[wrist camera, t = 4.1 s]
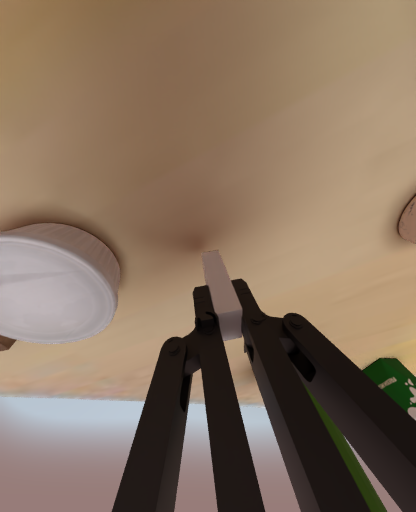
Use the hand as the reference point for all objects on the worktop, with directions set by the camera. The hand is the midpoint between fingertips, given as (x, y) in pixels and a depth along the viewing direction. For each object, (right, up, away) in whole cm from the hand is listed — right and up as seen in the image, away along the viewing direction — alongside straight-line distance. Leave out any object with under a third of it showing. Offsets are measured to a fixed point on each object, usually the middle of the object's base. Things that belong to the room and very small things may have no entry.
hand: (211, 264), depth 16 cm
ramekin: (-14, 0, +2) cm, 15 cm away
